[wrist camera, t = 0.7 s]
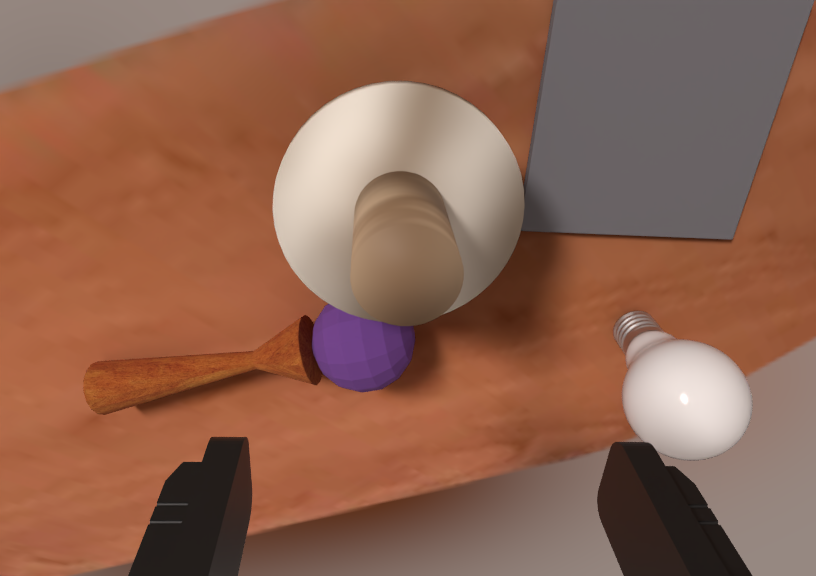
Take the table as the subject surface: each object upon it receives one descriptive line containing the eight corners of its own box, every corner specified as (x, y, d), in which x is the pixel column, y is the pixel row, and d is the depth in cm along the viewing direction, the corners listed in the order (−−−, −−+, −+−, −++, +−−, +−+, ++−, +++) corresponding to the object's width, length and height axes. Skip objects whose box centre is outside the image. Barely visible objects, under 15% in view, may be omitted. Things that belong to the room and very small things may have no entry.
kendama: (53, 366, 34) (397, 301, 32) (109, 326, 40) (405, 268, 37) (92, 456, 36) (421, 401, 34) (140, 405, 42) (425, 355, 39)
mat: (806, -1, 31) (814, 0, 30) (727, 235, 37) (732, 239, 36) (556, -19, 30) (560, -19, 29) (517, 226, 36) (519, 231, 35)
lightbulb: (588, 281, 38) (662, 390, 28) (687, 278, 38) (795, 385, 29) (575, 365, 41) (639, 489, 31) (668, 361, 41) (759, 483, 32)
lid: (537, 88, 25) (591, 129, 19) (501, 315, 31) (534, 404, 24) (271, 72, 25) (237, 109, 18) (279, 308, 30) (256, 399, 23)
